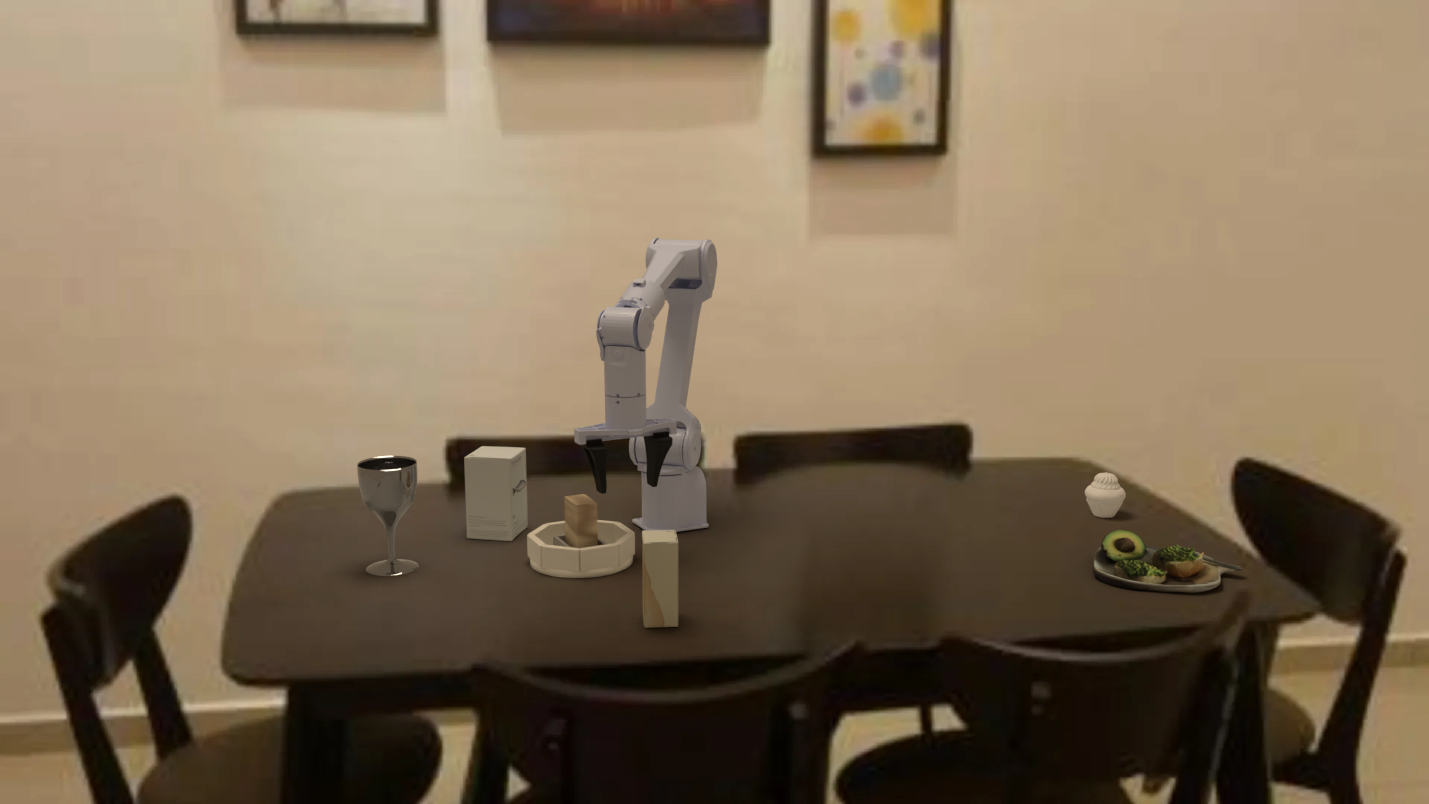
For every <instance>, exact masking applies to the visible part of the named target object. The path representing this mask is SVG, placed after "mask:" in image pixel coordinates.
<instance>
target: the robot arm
mask: <svg viewBox="0 0 1429 804" xmlns="http://www.w3.org/2000/svg"><path fill="white" fill-rule="evenodd" d="M645 268H646V270H645V272H644V274H643V275H642V278H634V280H633V281H632V282H630V283H629V285H628V286H627V287H626V288H625V290H624V292H623V293H622V295H621V296H620V297H619V299H618V300H617V302H616V304H614V306H608V307H606V308H605V309H604V310H601V311H600V313H599V314H598V317H597V322H596V330H595V331H596V332H595V336H596V339H597V344H598V346H599V357H600V361H602V362H603V365H604V370H603V371H604V372H603V373H604V374H603V376H604V413H605V414H604V415H605V416H604V418H605V419H604V420H605V421H604V422H602V423H601V422H600V423H597V424H593V425H587V426H584V427H583V426H582V427H575V428H574V430H573V433H574V434H573V435H574V436H573V437H574V443H575V444H577V445H579V447H580V448H581V449H582V451H583V454H584V456H585V457H586V460H587V462H588V465H589V467H590V469H591V474H592V476H593V479H594V484H595V489H596V491H597V492H598V493H599V494H603V495H604V494H607V489H608V488H607V487H608V485H607V483H608V482H607V481H608V480H607V462H608V455H609V449H608V448H607V447H605V442H604V441H613V440H615V441H616V440H622V439H623V440H624V439H629V442H628V452H629V453H628V454H629V457H630V459H631V461H632V463H633V464H634V465H635V466H637V471H638V472H641V517H638V518H637V517H636V518H632V521H631V522H632V523H633V524H635V525H636V526H638V527H640V528H641V529H642V530H643V531H646V530H675V531H676V533H678V532H685V531H693V530H699V529H704V528H705V529H706V528H709V525H710V524H709V523H708V522H707V521H708V520H707V517H708V516H707V482H706V478H705V474H704V472H703V470H702V469H701V468H700V467H699V466H697V465H698V463H699V462H700V457H701V451H702V439H701V436H702V435H701V432H702V426H701V422H700V420H699V419H698V418H697V417H696V415H694V413H692V412H691V411H690V410H689V409H688V407H687V402H688V396H689V395H688V394H689V388H690V381H691V374H692V368H693V360H694V354H695V346H696V341H697V333H698V327H699V322H700V321H699V320H700V314H701V309H702V307H703V306H702V305H703V303H705V302H707V300H710V299H711V298H713V291H714V289H715V283H716V278H717V277H716V276H717V271H718V255H717V248H716V245H715V244H714V242H713V241H712V239H706V238H705V239H675V238H674V239H666V238H659V237H653V238H652V239H651V240H650V242H649V243H648V245H647V247H646V252H645ZM666 301H667V303H668V311H667V318H666V325H665V330H664V331H665V332H664V337H663V345H662V350H661V357H660V363H659V370H658V374H657V375H658V376H657V382H656V389H655V395H654V402H653V403H652V404H650V405H649V406H647V375H646V374H647V371H646V370H647V369H646V367H647V366H646V364H647V361H646V360H647V357H646V356H647V354H646V352H647V351H646V350H647V349H648V347H650V345H651V341H652V338H653V336H652V335H653V331H654V328H655V320H656V319H657V317H658V315H659V314H660V312H661V311H662V309H663V308H664V306H665V303H666ZM603 442H604V443H603Z"/></svg>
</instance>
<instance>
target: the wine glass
mask: <svg viewBox="0 0 1429 804" xmlns="http://www.w3.org/2000/svg"><path fill="white" fill-rule="evenodd" d="M356 466H357V469H356V470H357V479H358V481H357V482H358V486H359V491H360V495H361V498H362V502H363V504H364V505H365V506H366V507H367V509H368V511H370V512H371V513H372V514H373V515H374V516H375V517H376V518H377V519H378V520H379V521H380V522H381V524H382V525H383V528H384V530H385V533H386V538H387V546H388V558H387V559H383V560H379V561H376V562H373V563H371V564H369V565H368V566H367V567H365V571H366V573H368V574H369V575H373V576H378V577H394V576H395V577H397V576H402V575H406V574H410V573H412V572H415V571H416V570H418V568H419V567H420V565H419V563H418V562H416V561H414V560H411V559H404V558H403V559H402V558H396V554H395V540H396V539H395V537H396V528H397V526H398V524H399V521H400V520H401V519H402V517H404V515H405V514H406V512H407V511H408V510H409V508H410V507H411V505H412V504H413V502H414V500H415V497H416V491H417V487H418V486H417V485H418V461H417V459H416V458H414V457H410V456H406V455H405V456H404V455H383V456H375V457H369V458H366V459H362V460H360V461H359V462H357V465H356Z"/></svg>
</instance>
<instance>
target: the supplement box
mask: <svg viewBox="0 0 1429 804" xmlns="http://www.w3.org/2000/svg"><path fill="white" fill-rule="evenodd" d="M526 451H527V448H526V447H515V446H486V445H482V446H480V447H478V448H477V449H475V450H474V451H472V452H471V453H469V454H467V455H466V456H464V458H463V460H464V465H463V466H464V489H465V491H464V492H465V493H464V494H465V519H466V520H465V522H466V526H465V527H466V538H467V539H473V540H485V541H486V540H487V541H502V542H513V541H514V540H515V538H516V537H517V536H518V535H519V534H521V533H522V532H523V531H524V530H526V529H527V528H528V526H529V525H528V524H529V523H528V521H529V520H528V487H527V486H528V483H527V453H526Z"/></svg>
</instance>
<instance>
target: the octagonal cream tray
mask: <svg viewBox="0 0 1429 804" xmlns="http://www.w3.org/2000/svg"><path fill="white" fill-rule="evenodd" d="M597 532H598V546H592V547H585V548H573V547H570V546H569V545H568V544H566V543H565V520H561V521H560V520H559V521H555V522H553V521H552V522H546V523H543V524H542V525H540V526H537V528H535V529H534V530H532V531H530V532H528V534H527V535H526V545H527V546H526V547H527V548H526V551H527V557H528V558H529V565H530V567H531V568H532V569H533V570H534V571H536V572H537V573H539V574H542V575H546V576H551V577H557V578H563V579H588V578H597V577H603V576H605V577H606V576H610V575H613V574H617V573H619V572H622V571H624V570H626V569H628V568H630V566H631V565H632V564H633V563H634V562H633V561H634V555H635V554H636V545H635V544H636V536H635V535H636V532H635V531H633V530H632V529H630V528H629V527H628V526H627V525H624V524H623V523H622V522H619V521H613V520H601V519H597Z"/></svg>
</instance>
